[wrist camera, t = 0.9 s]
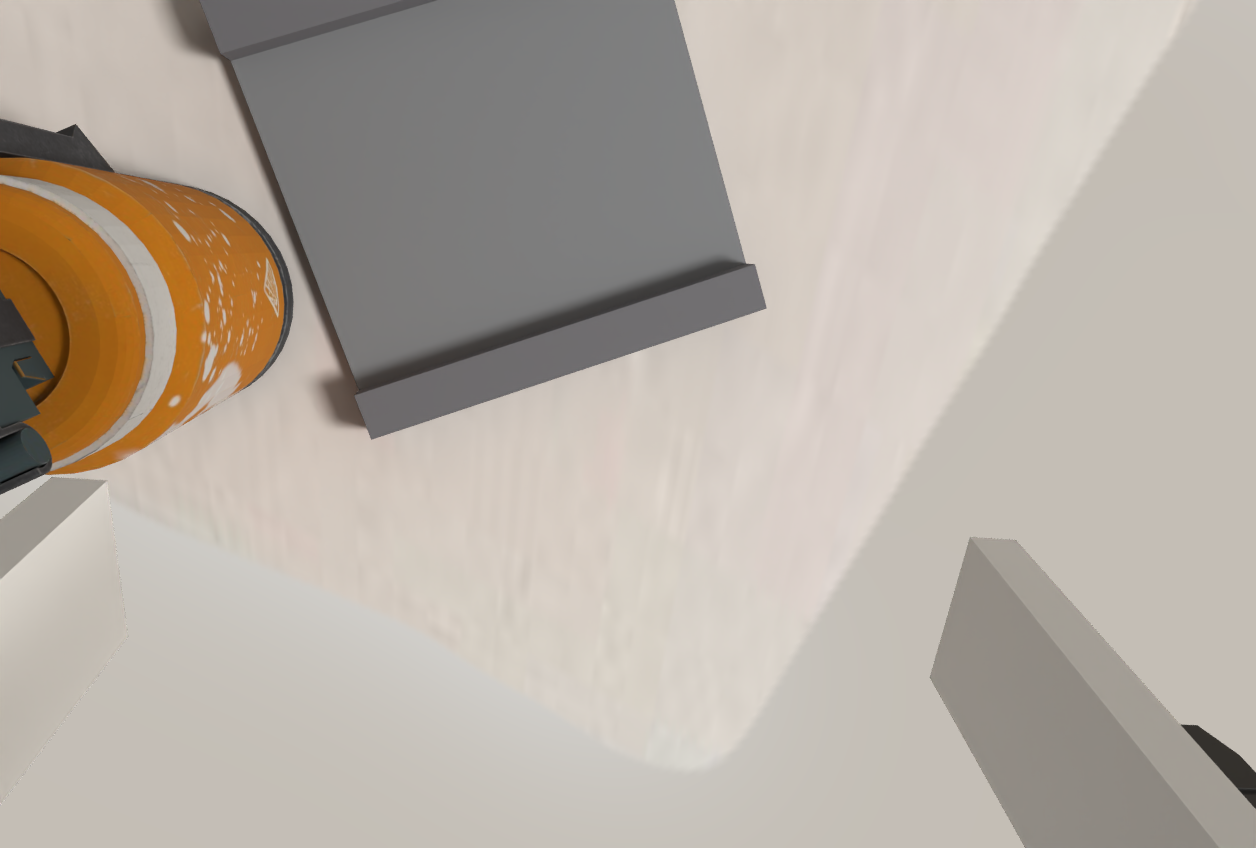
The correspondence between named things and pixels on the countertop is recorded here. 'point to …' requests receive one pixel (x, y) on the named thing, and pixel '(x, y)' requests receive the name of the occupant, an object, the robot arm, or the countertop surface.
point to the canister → (120, 305)
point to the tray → (490, 186)
